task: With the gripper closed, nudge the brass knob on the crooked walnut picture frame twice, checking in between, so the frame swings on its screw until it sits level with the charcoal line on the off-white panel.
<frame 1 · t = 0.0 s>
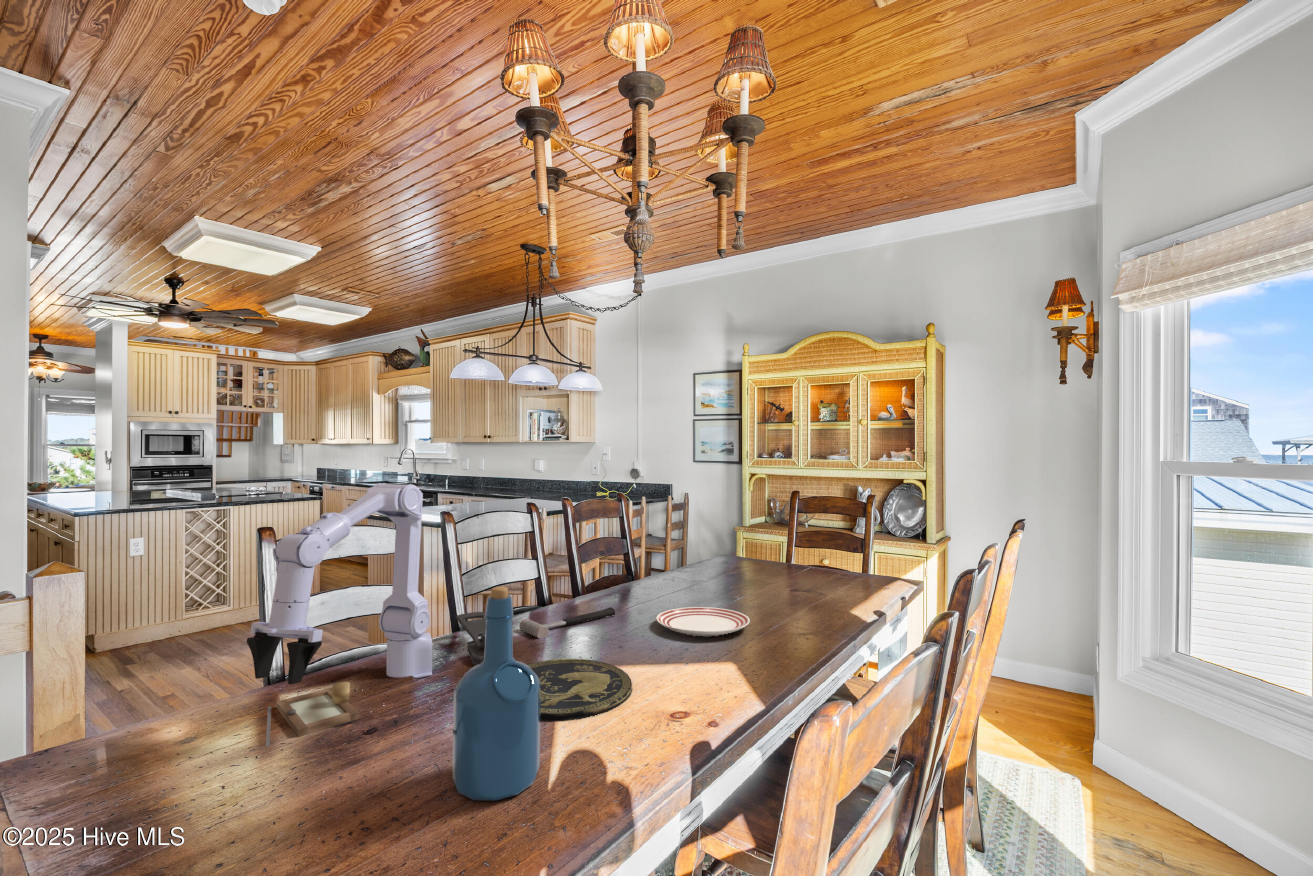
hand: (278, 680, 104), 11 cm above the table, tool pointing down, fingers open, 7 cm apart
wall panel: (321, 717, 112), on the table
rubber mallet: (572, 627, 174), on the table
decorative plate: (563, 691, 127), on the table
wine bottle: (497, 781, 92), on the table
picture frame: (319, 701, 112), point 3 cm above the table, hinge at 12.0°
dinner plate: (702, 629, 172), on the table
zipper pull: (481, 650, 151), on the table
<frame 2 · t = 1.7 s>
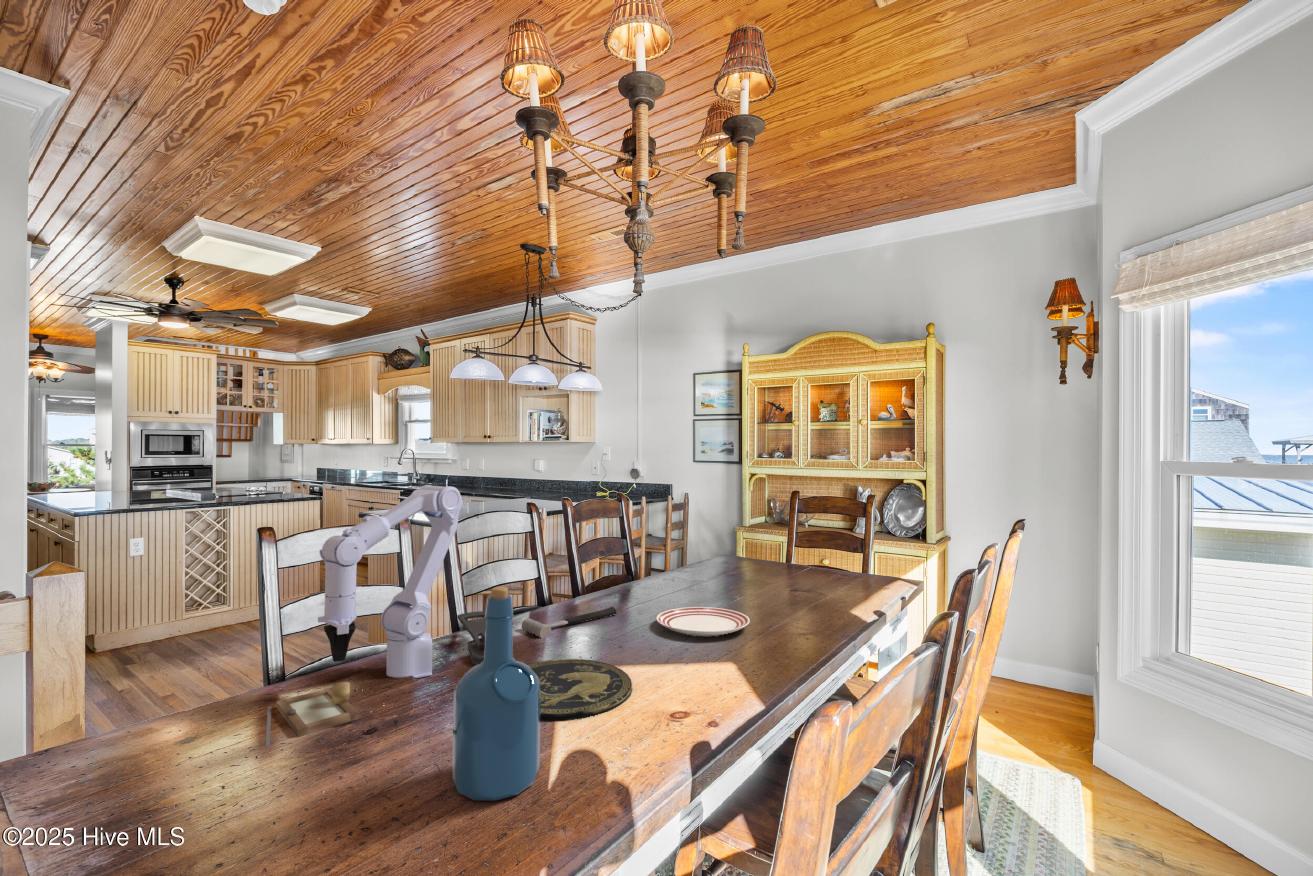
hand: (339, 660, 121), 8 cm above the table, tool pointing down, fingers closed
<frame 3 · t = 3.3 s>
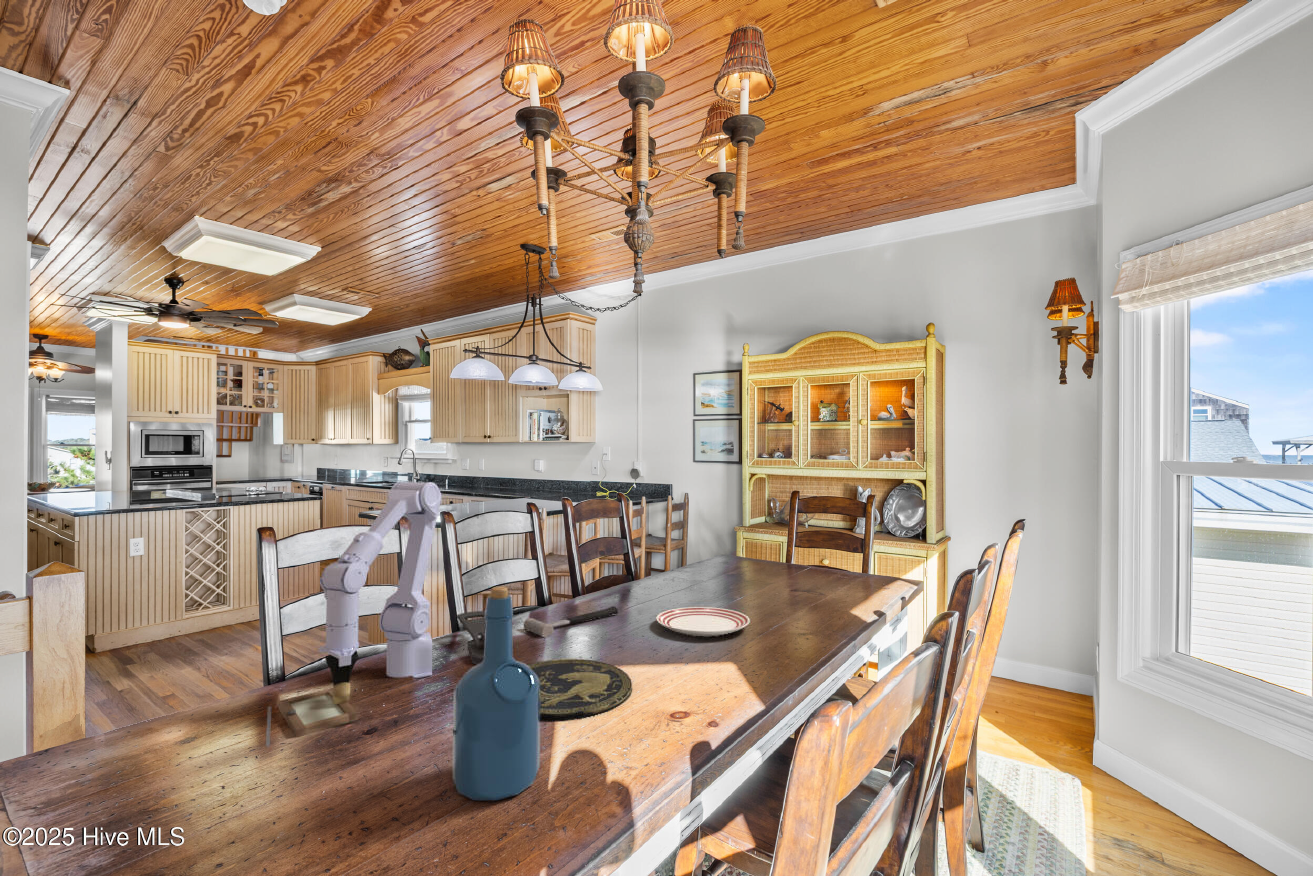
hand: (341, 691, 117), 3 cm above the table, tool pointing down, fingers closed
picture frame: (319, 701, 112), point 3 cm above the table, hinge at 10.0°, touching gripper
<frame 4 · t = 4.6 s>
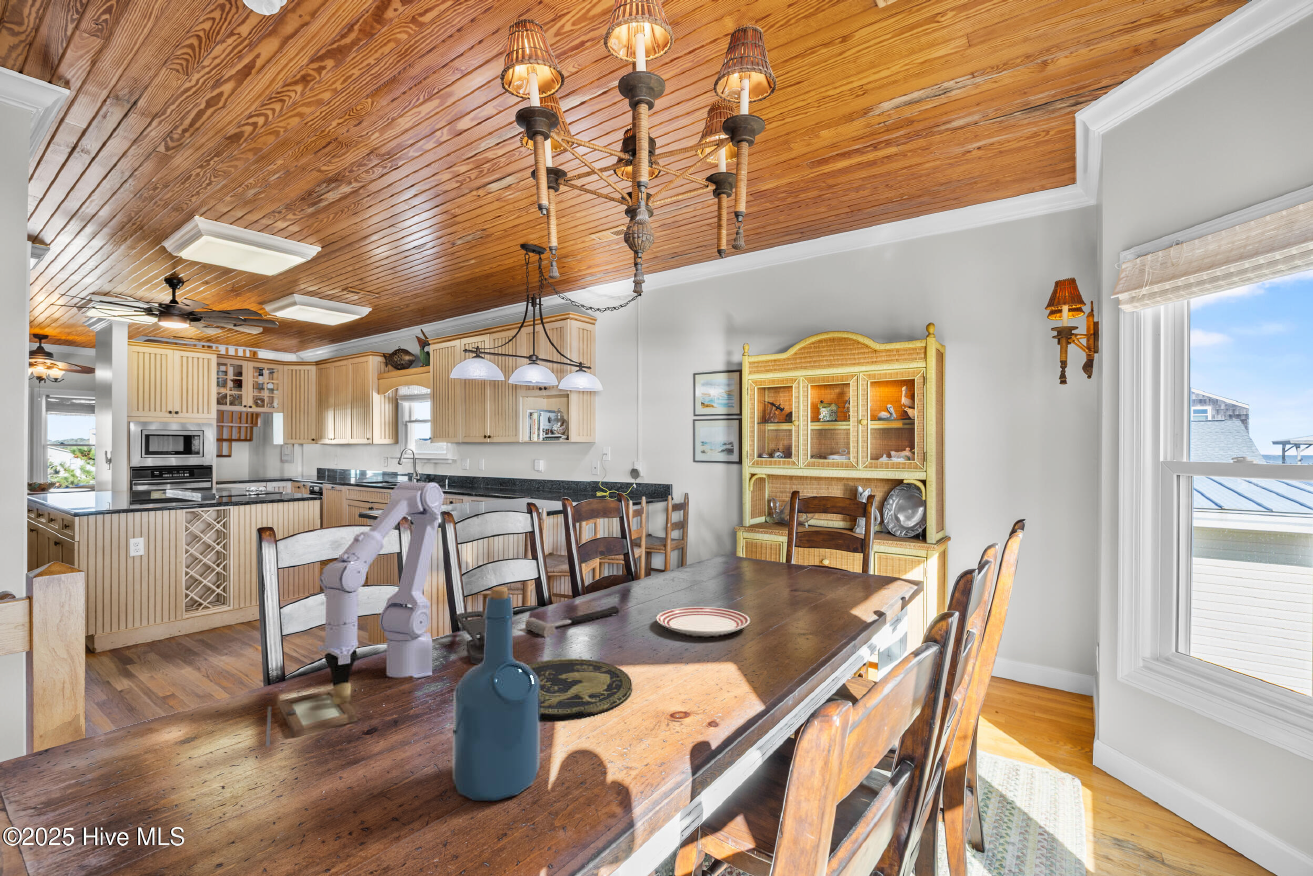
hand: (340, 689, 118), 3 cm above the table, tool pointing down, fingers closed
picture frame: (319, 702, 112), point 3 cm above the table, hinge at 8.4°
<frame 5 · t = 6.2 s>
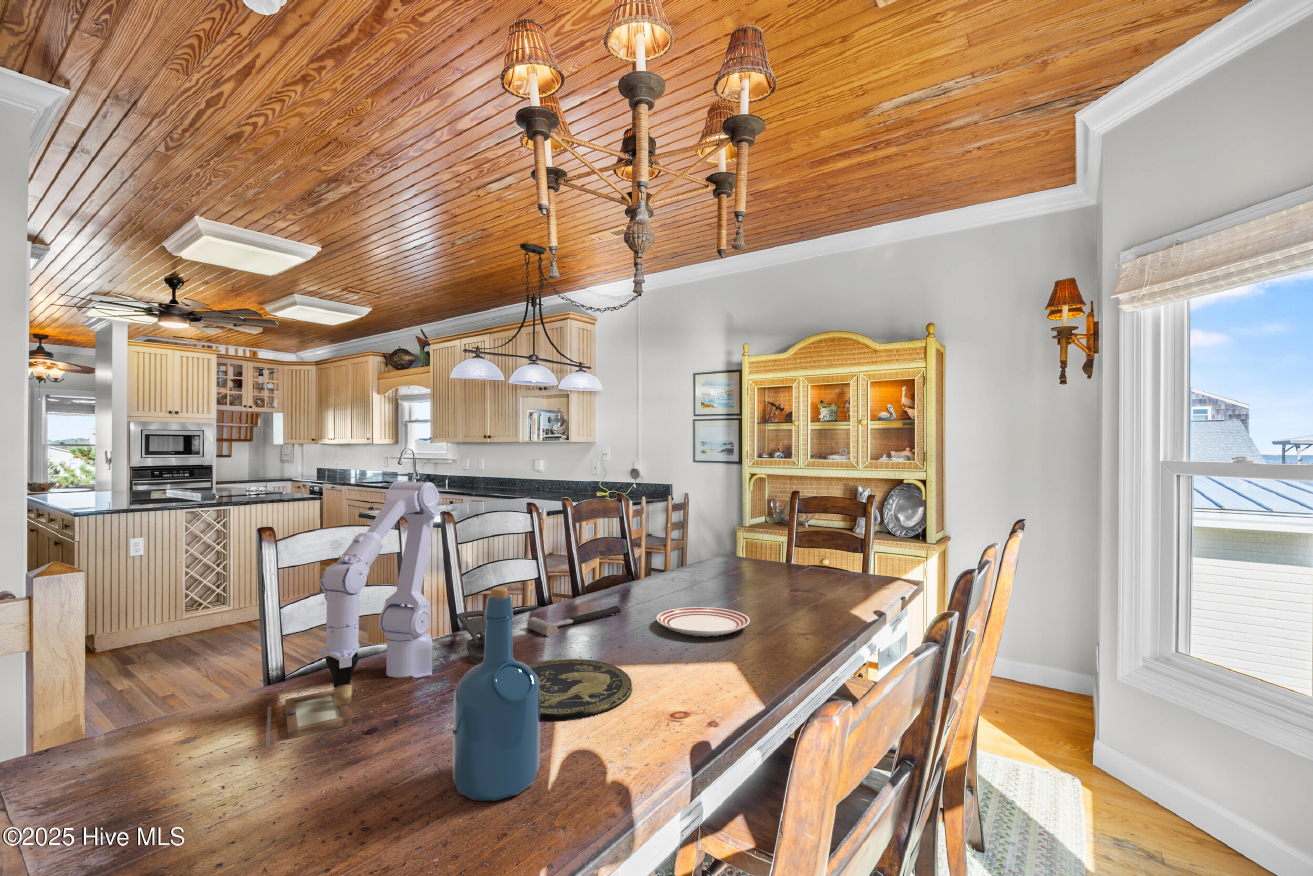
hand: (341, 692, 116), 3 cm above the table, tool pointing down, fingers closed
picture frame: (319, 703, 112), point 3 cm above the table, hinge at 1.3°, touching gripper
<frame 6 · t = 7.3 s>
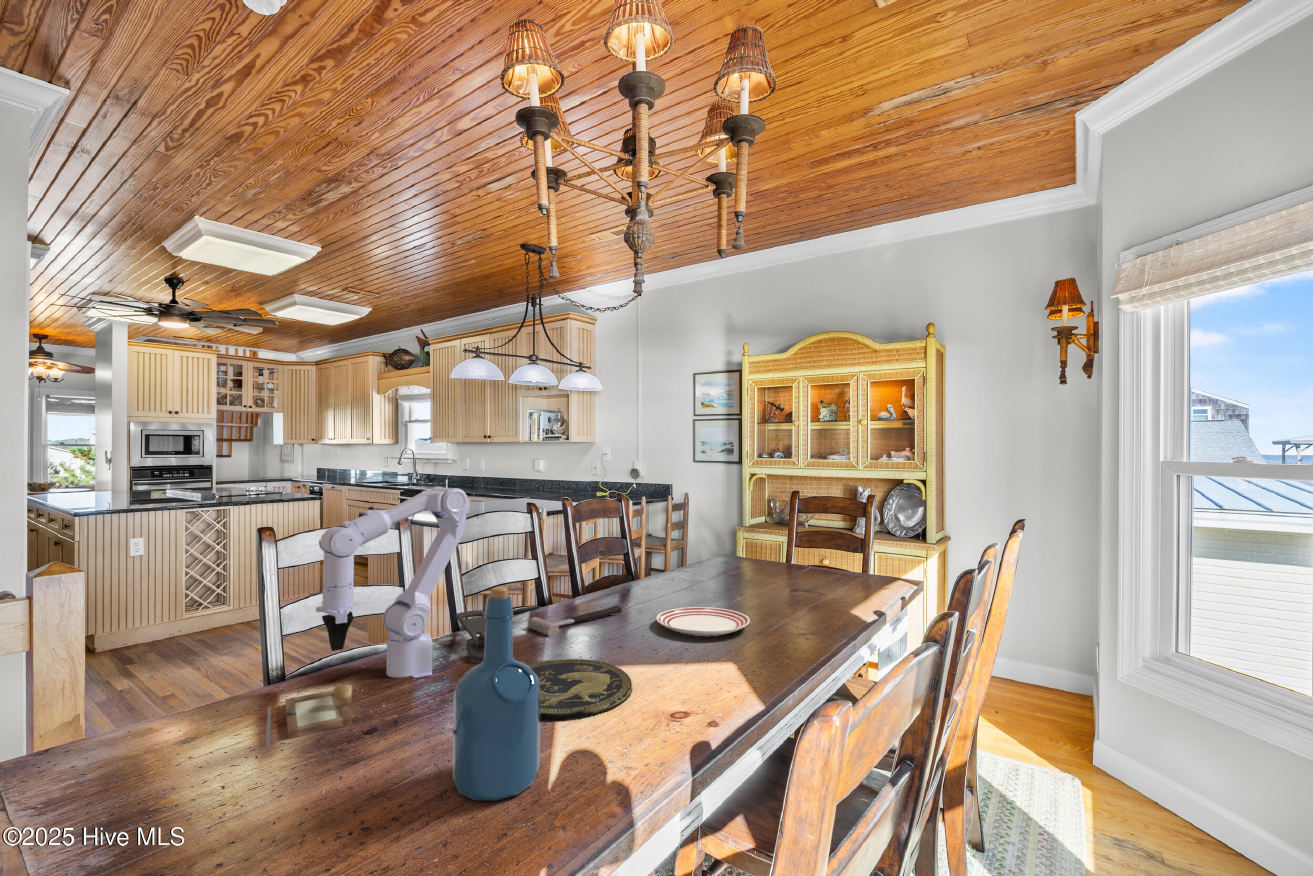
hand: (337, 649, 123), 9 cm above the table, tool pointing down, fingers closed
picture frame: (319, 703, 112), point 3 cm above the table, hinge at 1.3°
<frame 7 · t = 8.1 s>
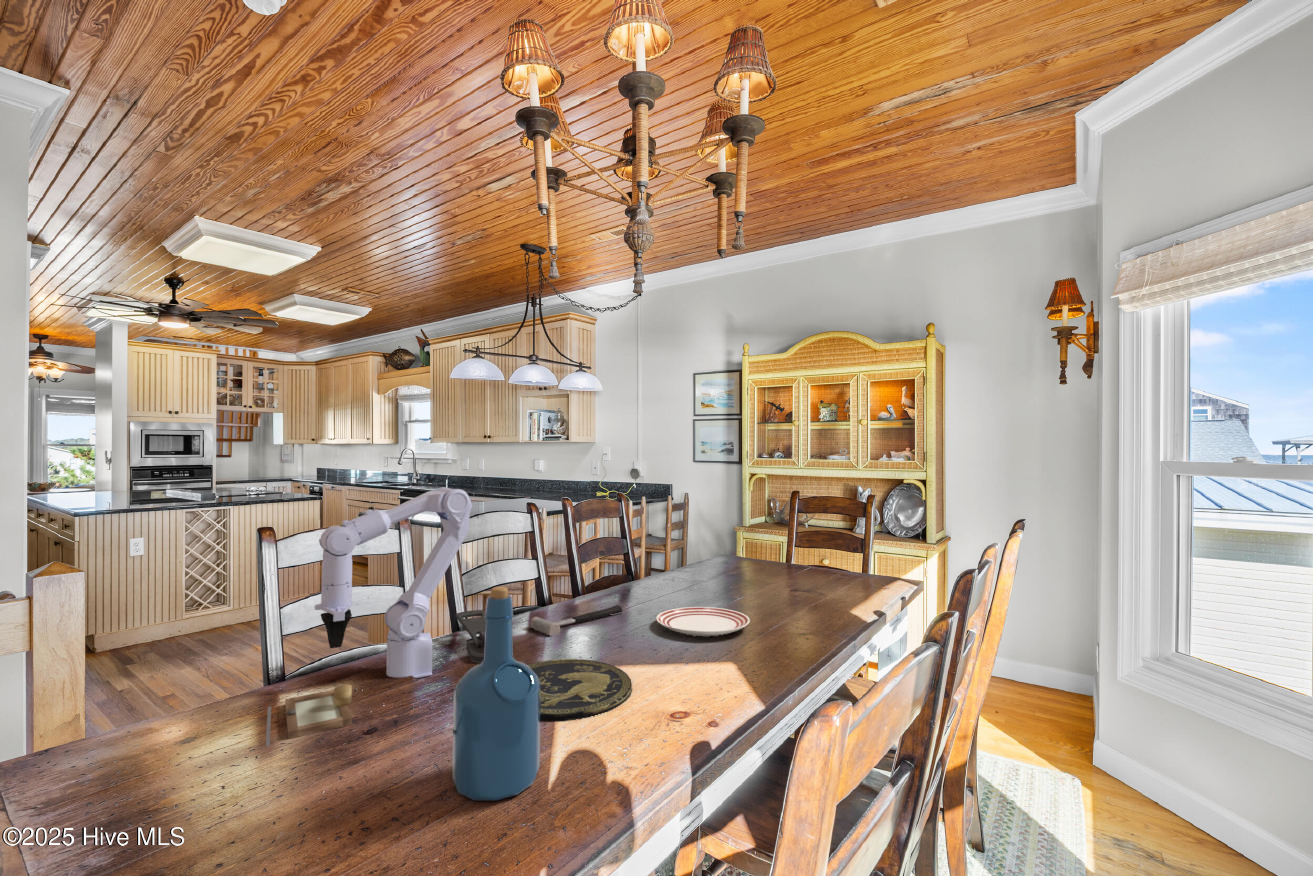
hand: (335, 646, 125), 9 cm above the table, tool pointing down, fingers closed
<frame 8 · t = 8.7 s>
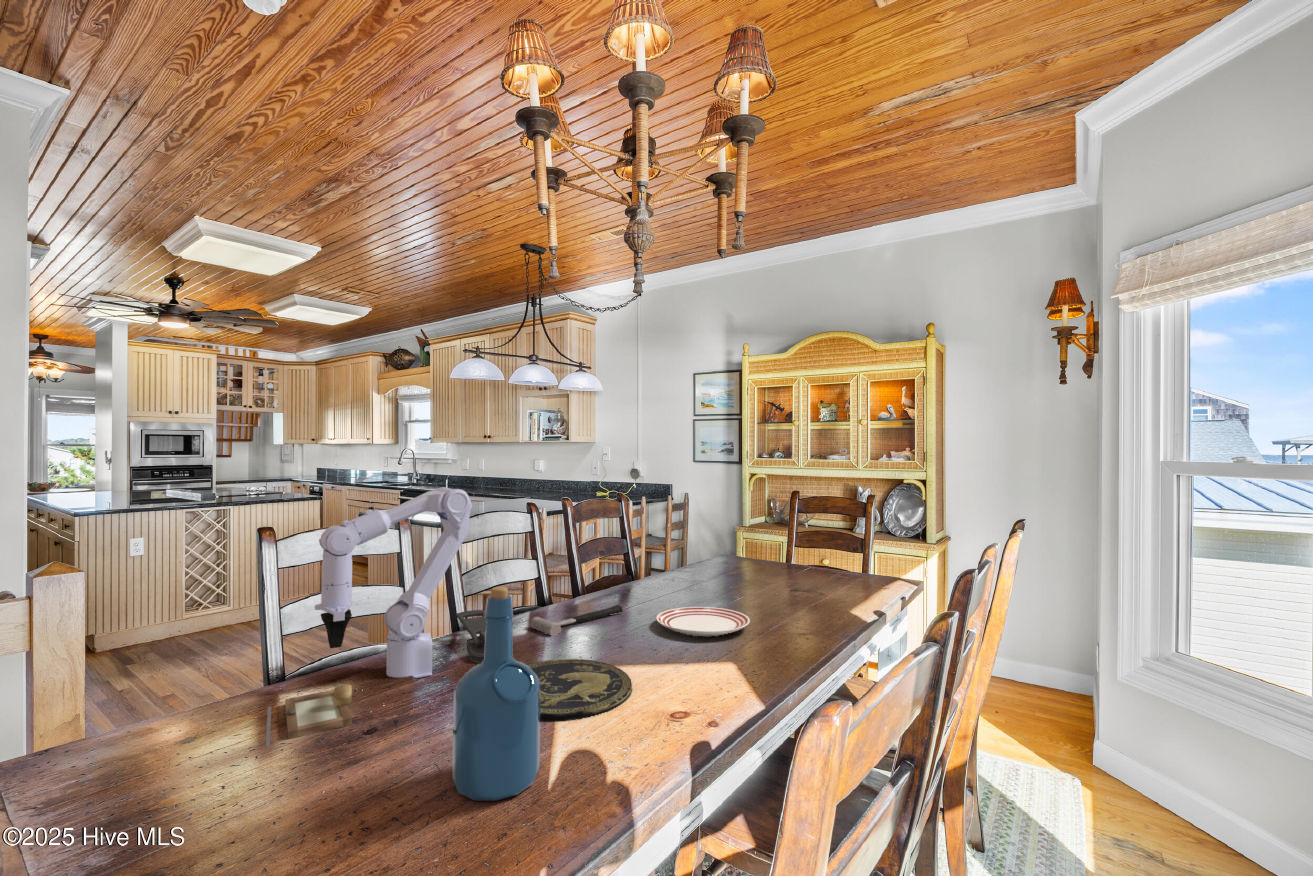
hand: (335, 646, 125), 9 cm above the table, tool pointing down, fingers closed
at the end: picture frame at +1° (first picture: +12°) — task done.
